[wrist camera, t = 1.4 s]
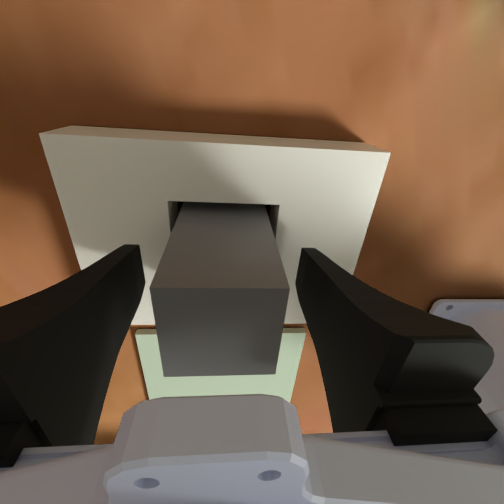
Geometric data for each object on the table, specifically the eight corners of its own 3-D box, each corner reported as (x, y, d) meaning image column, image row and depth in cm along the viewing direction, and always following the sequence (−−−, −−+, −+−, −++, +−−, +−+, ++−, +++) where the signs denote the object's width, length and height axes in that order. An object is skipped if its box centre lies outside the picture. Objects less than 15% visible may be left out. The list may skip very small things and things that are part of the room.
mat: (304, 327, 20) (306, 332, 20) (284, 416, 26) (285, 422, 26) (137, 329, 19) (134, 334, 19) (156, 421, 25) (155, 427, 25)
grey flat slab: (365, 142, 14) (390, 152, 12) (325, 296, 19) (337, 323, 17) (71, 125, 12) (38, 133, 10) (113, 295, 18) (97, 324, 15)
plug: (262, 195, 15) (289, 288, 8) (256, 258, 17) (275, 374, 10) (186, 193, 14) (149, 287, 8) (191, 257, 17) (163, 377, 10)
